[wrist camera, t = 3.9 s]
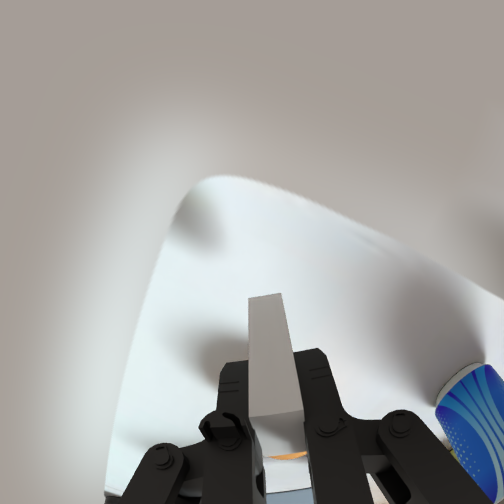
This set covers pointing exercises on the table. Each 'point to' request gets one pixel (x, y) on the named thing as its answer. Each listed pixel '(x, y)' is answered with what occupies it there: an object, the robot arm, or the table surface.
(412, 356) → the table surface
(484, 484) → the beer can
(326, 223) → the table surface
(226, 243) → the table surface
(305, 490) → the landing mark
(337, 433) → the robot arm
